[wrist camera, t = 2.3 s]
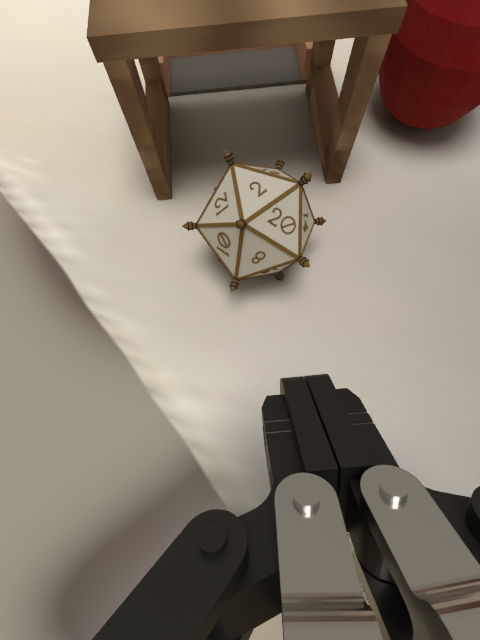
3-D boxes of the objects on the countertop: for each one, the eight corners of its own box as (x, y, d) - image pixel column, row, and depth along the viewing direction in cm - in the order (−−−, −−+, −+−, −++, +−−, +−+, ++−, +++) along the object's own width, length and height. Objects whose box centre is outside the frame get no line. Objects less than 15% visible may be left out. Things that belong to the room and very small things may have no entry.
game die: (274, 264, 30) (370, 193, 23) (241, 334, 25) (353, 271, 17) (196, 192, 27) (276, 86, 20) (142, 253, 22) (222, 140, 15)
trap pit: (304, 40, 34) (309, 4, 31) (314, 81, 32) (320, 47, 29) (157, 54, 34) (149, 20, 31) (158, 97, 32) (149, 64, 29)
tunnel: (321, 88, 32) (361, -110, 20) (343, 182, 28) (407, 5, 17) (153, 105, 32) (97, -84, 20) (154, 200, 28) (86, 37, 17)
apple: (472, 171, 28) (614, -1, 17) (345, 145, 29) (401, -30, 18) (482, 80, 31) (607, -112, 20) (368, 61, 33) (427, -130, 22)
